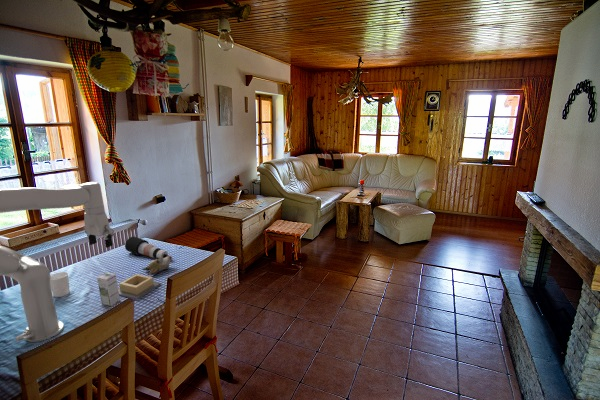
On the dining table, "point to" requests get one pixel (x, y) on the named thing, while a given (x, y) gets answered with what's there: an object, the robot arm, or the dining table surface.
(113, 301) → the syrup box
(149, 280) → the socket
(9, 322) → the dining table surface
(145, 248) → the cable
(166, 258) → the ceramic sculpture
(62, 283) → the white cup
